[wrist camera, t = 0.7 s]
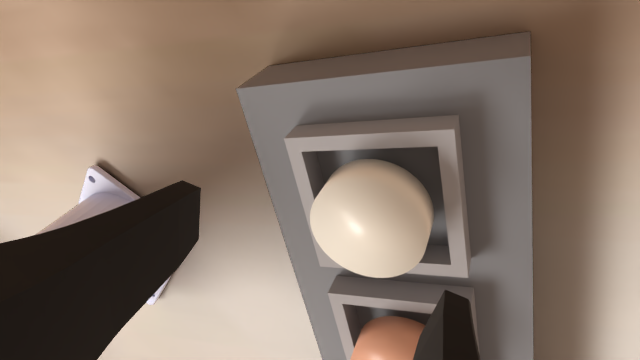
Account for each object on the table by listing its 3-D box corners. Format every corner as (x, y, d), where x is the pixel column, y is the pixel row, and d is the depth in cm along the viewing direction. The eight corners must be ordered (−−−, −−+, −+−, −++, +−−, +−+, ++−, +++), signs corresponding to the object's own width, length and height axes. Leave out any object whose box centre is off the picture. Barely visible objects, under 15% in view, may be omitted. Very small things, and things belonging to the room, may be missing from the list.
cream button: (439, 256, 18) (433, 282, 17) (336, 250, 20) (323, 273, 19) (427, 156, 16) (418, 179, 15) (312, 160, 18) (297, 180, 17)
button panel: (534, 453, 28) (534, 528, 25) (366, 416, 33) (348, 475, 30) (530, 31, 16) (531, 68, 13) (268, 66, 21) (220, 99, 18)
